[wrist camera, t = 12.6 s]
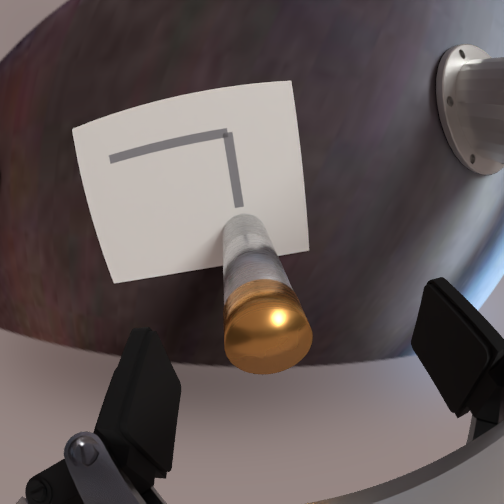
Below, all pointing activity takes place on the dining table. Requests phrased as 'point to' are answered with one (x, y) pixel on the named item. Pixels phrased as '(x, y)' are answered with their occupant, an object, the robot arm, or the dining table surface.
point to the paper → (193, 177)
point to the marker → (259, 302)
